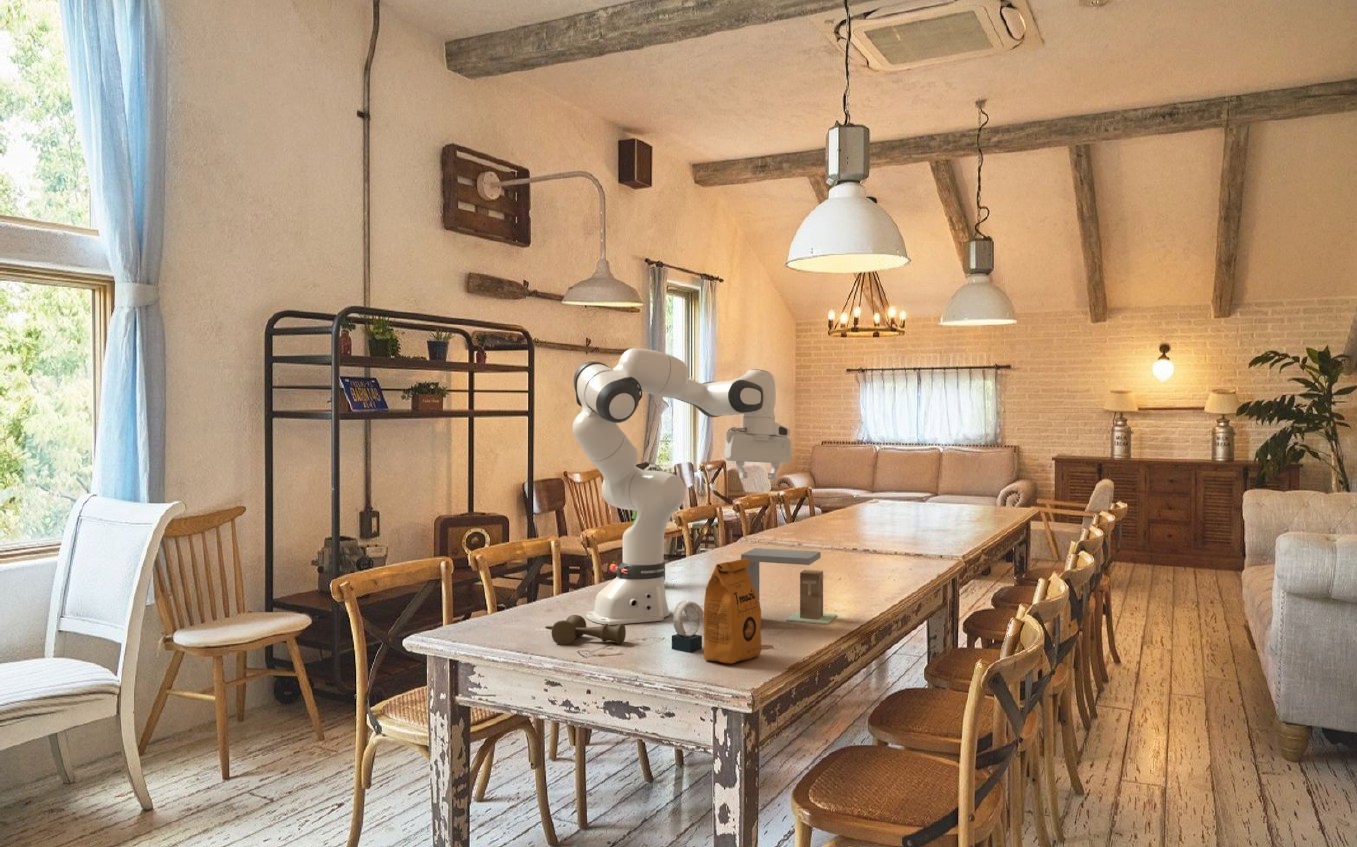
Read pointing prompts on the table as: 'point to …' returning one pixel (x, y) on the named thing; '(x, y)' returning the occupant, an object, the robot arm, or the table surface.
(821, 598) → the letter block
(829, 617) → the mat
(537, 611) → the table surface
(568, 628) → the kendama
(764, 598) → the table surface
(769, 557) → the awning
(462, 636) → the table surface
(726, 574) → the coffee package
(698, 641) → the white ring on block
